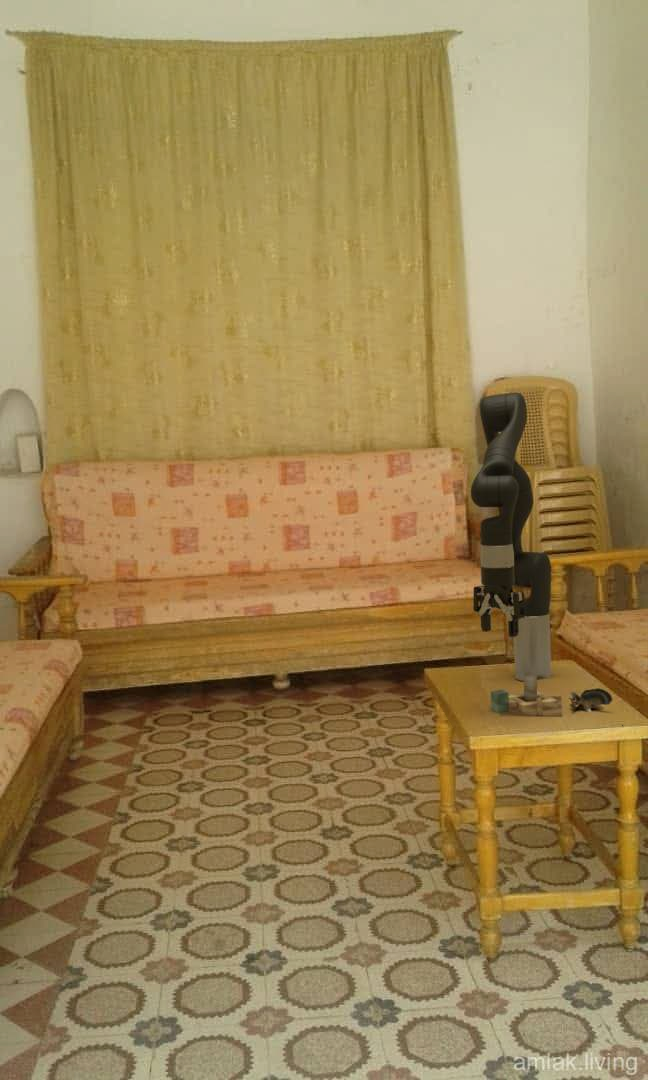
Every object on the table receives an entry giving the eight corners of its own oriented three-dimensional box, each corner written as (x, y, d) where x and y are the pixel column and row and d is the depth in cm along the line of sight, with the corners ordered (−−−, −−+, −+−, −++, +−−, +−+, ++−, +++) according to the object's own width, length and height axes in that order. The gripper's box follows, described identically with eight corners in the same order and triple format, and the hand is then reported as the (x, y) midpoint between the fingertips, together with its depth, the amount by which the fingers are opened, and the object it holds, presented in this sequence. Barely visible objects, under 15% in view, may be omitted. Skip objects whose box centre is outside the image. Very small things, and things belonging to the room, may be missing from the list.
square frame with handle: (538, 698, 252) (537, 680, 251) (557, 707, 243) (557, 689, 243) (485, 706, 248) (484, 688, 247) (503, 716, 239) (502, 697, 238)
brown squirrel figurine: (576, 717, 236) (616, 708, 235) (567, 687, 239) (606, 678, 239) (574, 726, 243) (612, 717, 242) (565, 697, 246) (603, 688, 245)
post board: (502, 700, 256) (501, 667, 255) (561, 700, 253) (560, 667, 252) (499, 721, 240) (498, 686, 239) (562, 721, 237) (561, 686, 236)
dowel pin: (537, 714, 239) (536, 697, 238) (542, 714, 239) (541, 697, 238) (536, 716, 238) (536, 698, 237) (542, 716, 237) (541, 699, 237)
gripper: (463, 563, 242) (466, 632, 244) (508, 569, 230) (510, 641, 232) (487, 558, 246) (489, 626, 248) (532, 564, 235) (534, 635, 237)
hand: (499, 633), depth 240 cm, fingers open, 8 cm apart
